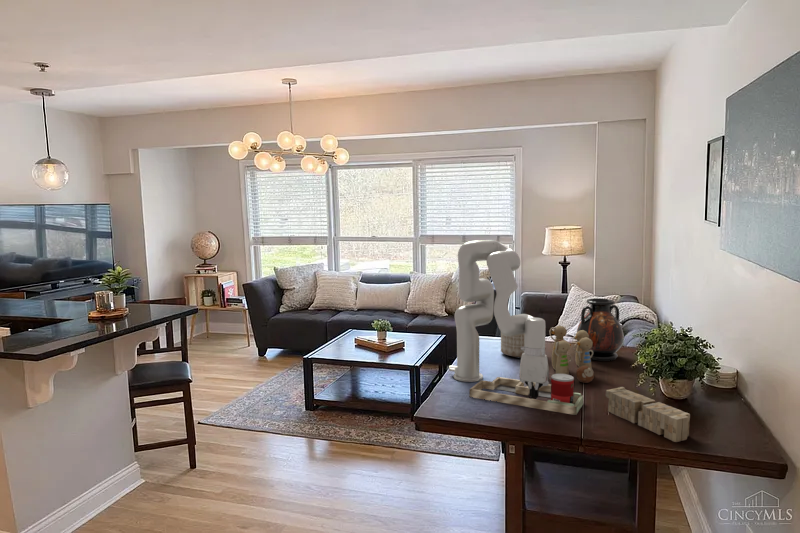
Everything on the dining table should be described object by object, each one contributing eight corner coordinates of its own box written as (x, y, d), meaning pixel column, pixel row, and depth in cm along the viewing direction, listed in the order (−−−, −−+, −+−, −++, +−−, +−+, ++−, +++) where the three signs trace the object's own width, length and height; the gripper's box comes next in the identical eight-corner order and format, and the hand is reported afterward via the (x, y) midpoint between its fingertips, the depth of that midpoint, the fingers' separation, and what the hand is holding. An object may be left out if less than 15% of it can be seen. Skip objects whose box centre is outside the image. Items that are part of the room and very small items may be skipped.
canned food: (575, 409, 192) (576, 380, 191) (552, 409, 193) (553, 379, 191) (570, 402, 199) (571, 373, 198) (548, 401, 200) (549, 373, 199)
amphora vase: (608, 350, 272) (609, 296, 269) (632, 362, 250) (634, 303, 247) (568, 352, 269) (569, 297, 266) (588, 364, 247) (590, 304, 245)
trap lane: (469, 396, 206) (469, 387, 206) (487, 382, 224) (487, 373, 223) (576, 415, 187) (576, 405, 186) (587, 397, 204) (587, 388, 204)
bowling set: (563, 391, 212) (564, 341, 210) (518, 374, 235) (519, 328, 233) (628, 376, 229) (629, 330, 227) (581, 361, 253) (582, 319, 251)
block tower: (692, 441, 167) (621, 407, 194) (694, 415, 166) (622, 385, 193) (674, 445, 164) (604, 410, 191) (676, 419, 163) (606, 388, 190)
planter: (545, 360, 256) (545, 326, 254) (504, 360, 256) (504, 326, 254) (535, 349, 275) (535, 318, 273) (497, 350, 275) (498, 318, 274)
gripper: (512, 351, 199) (511, 398, 201) (552, 356, 192) (551, 405, 194) (517, 346, 206) (517, 392, 207) (557, 351, 198) (556, 398, 200)
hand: (533, 398), depth 201 cm, fingers closed
